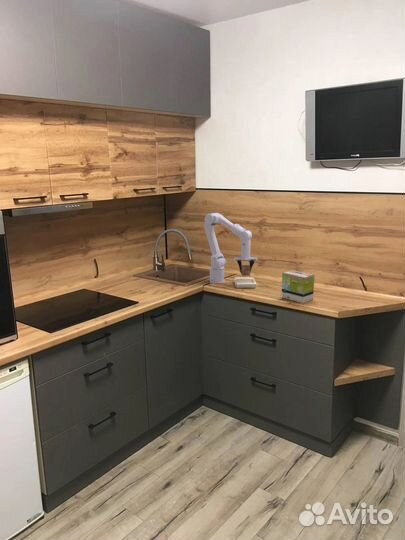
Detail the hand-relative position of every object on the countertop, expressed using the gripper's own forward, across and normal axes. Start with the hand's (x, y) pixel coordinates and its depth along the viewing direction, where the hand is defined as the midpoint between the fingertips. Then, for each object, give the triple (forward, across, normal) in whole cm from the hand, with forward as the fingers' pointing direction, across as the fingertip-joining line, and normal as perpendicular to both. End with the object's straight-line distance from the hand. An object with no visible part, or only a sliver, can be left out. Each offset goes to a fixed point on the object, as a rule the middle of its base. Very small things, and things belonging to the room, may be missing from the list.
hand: (245, 272), depth 283 cm
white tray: (+9, 0, 0) cm, 9 cm away
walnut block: (+1, 0, 0) cm, 1 cm away
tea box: (+9, +26, -29) cm, 40 cm away
